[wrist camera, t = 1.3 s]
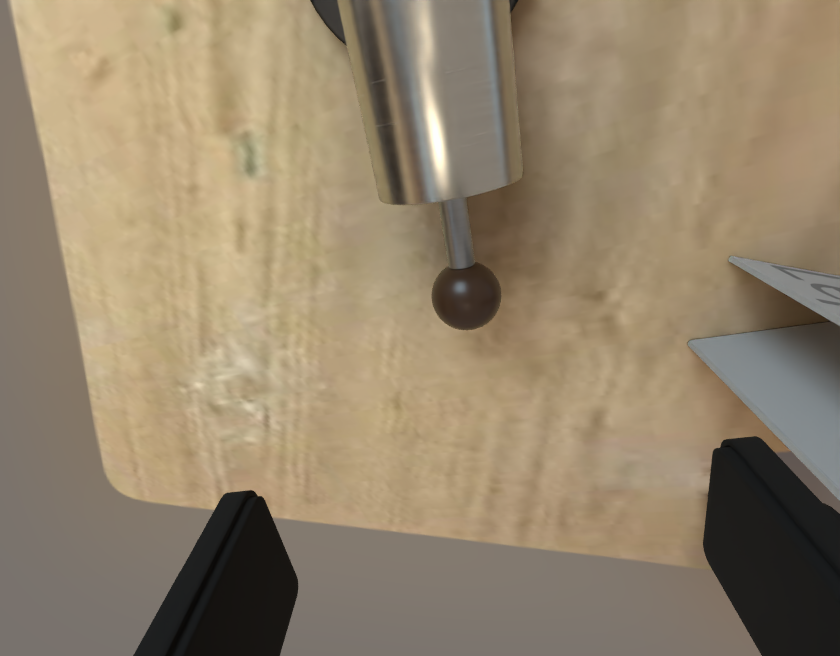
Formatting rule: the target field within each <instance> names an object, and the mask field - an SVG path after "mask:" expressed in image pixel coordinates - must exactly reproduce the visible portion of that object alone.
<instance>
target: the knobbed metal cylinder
mask: <svg viewBox="0 0 840 656" xmlns="http://www.w3.org/2000/svg"><path fill="white" fill-rule="evenodd" d="M337 2H338V7H339V11H340V16H341V21H342V26H343V30H344V35H345V40H346V44H347V49H348V54H349V59H350V63H351V68H352V73H353V77H354V82H355V87H356V91H357V96H358V101H359V106H360V110H361V115H362V120H363V124H364V129H365V134H366V139H367V143H368V148H369V153H370V157H371V162H372V167H373V171H374V176H375V181H376V186H377V190H378V195H379V199H380V201H381V202H383V203H386V204H391V205H417V204H428V203H436V202H438V205H439V211H440V217H441V224H442V230H443V236H444V242H445V248H446V255H447V261H448V267H446V268H445V269H444V270H442V271H441V273H440V274H439V275H438V277H437V278H436V280H435V282H434V285H433V288H432V303H433V307H434V309H435V311H436V313H437V315H438V316H439V318H440V319H441V320H442V321H443V322H444V323H446V324H447V325H449V326H451V327H453V328H455V329H459V330H473V329H477V328H480V327H482V326H484V325H485V324H487V323H488V322H489V321H490V320H491V319H492V318H493V317H494V316H495V314H496V313H497V311H498V309H499V306H500V302H501V288H500V284H499V282H498V280H497V278H496V276H495V275H494V273H493V272H492V271H491V270H490V269H488V268H487V267H486V266H484V265H482V264H480V263H478V262H475V259H474V251H473V244H472V237H471V229H470V222H469V214H468V207H467V199H466V197H470V196H474V195H479V194H483V193H486V192H490V191H493V190H496V189H499V188H502V187H505V186H507V185H510V184H512V183H514V182H516V181H518V180H519V179H520V178H521V177H522V176H523V164H522V152H521V139H520V127H519V115H518V102H517V90H516V78H515V65H514V53H513V41H512V29H511V16H510V4H509V0H337Z"/></svg>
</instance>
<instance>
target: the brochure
mask: <svg viewBox="0 0 840 656" xmlns="http://www.w3.org/2000/svg"><path fill="white" fill-rule="evenodd" d="M728 261H729V262H731V263H733V264H734V265H736V266H738V267H740V268H741V269H743V270H745V271H746V272H748V273H750V274H752V275H753V276H755V277H757V278H758V279H760V280H762V281H764V282H765V283H767V284H769V285H770V286H772V287H774V288H775V289H777V290H779V291H781V292H782V293H784V294H786V295H787V296H789V297H791V298H793V299H794V300H796V301H798V302H799V303H801V304H803V305H804V306H806V307H808V308H810V309H811V310H813V311H815V312H816V313H818V314H820V315H822V316H823V317H825V318H827V319H828V320H830V321H831V322H824V323H816V324H809V325H801V326H794V327H786V328H779V329H771V330H764V331H756V332H749V333H741V334H734V335H726V336H719V337H711V338H704V339H696V340H690V341H689V342H688V346H689V347H690V348H691V349H692V350H693V351H694V352H695V353H696V354H697V355H698V356H699V357H700V358H701V359H702V360H703V361H704V362H705V363H706V364H707V365H708V366H709V367H710V368H711V370H712V371H713V372H714V373H715V374H716V375H717V376H718V377H719V378H720V379H721V380H722V381H723V382H724V383H725V384H726V385H727V386H728V387H729V388H730V389H731V390H732V391H733V392H734V393H735V394H736V395H737V396H738V397H739V398H740V399H741V400H742V401H743V402H744V403H745V404H746V405H747V406H748V407H749V408H750V409H751V411H752V412H753V413H754V414H755V415H756V416H757V417H758V418H759V419H760V420H761V421H762V422H763V423H764V424H765V425H766V426H767V427H768V428H769V429H770V430H771V431H772V432H773V433H774V434H775V435H776V436H777V437H778V438H779V439H780V440H781V441H782V442H783V443H784V444H785V445H786V446H787V447H788V448H789V449H790V450H791V452H792V453H793V454H794V455H795V456H797V458H798V459H799V460H800V461H801V462H802V463H803V464H804V465H805V466H806V467H807V468H808V469H809V470H810V471H811V472H812V473H813V474H814V475H815V476H816V477H817V478H818V479H819V480H820V481H821V482H822V483H823V484H824V485H825V486H826V487H827V488H828V489H829V490H830V491H831V493H833V495H834V496H835V497H836V498H837V499H838V500H839V501H840V276H837V275H832V274H826V273H821V272H816V271H810V270H805V269H799V268H794V267H789V266H783V265H778V264H772V263H767V262H762V261H756V260H751V259H745V258H740V257H735V256H730V258H729V260H728Z"/></svg>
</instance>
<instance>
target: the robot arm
mask: <svg viewBox="0 0 840 656" xmlns="http://www.w3.org/2000/svg"><path fill="white" fill-rule="evenodd" d="M703 547H704V552H705V556H706V558H707V561H708V563H709V565H710V566H711V568H712V570H713V571H714V573H715V575H716V577H717V578H718V580H719V582H720V583H721V585H722V587H723V589H724V591H725V592H726V594H727V596H728V598H729V599H730V601H731V602H732V605H733V606H734V608H735V610H736V611H737V613H738V615H739V617H740V618H741V620H742V622H743V624H744V625H745V627H746V629H747V631H748V632H749V634H750V636H751V637H752V639H753V641H754V643H755V645H756V646H757V648H758V650H759V651H760V653H761V655H762V656H840V514H839V513H838V512H837V511H836V510H834V509H833V508H832V507H830V506H828V505H826V504H824V503H822V502H821V501H820V500H819V499H818V498H817V497H816V496H815V495H814V494H813V493H812V492H811V491H810V490H809V489H808V488H807V486H806V485H805V484H804V483H803V482H802V481H801V480H800V479H799V478H798V477H797V476H796V475H795V474H794V473H793V472H792V471H791V470H790V468H789V467H788V466H787V465H786V464H785V463H784V462H783V461H782V460H781V459H780V458H779V457H778V456H777V455H776V454H775V452H774V451H773V450H772V449H771V448H770V447H769V446H768V445H767V444H766V443H765V442H764V441H763V440H762V439H761V438H759V437H756V436H754V437H745V438H736V439H727V440H723V442H722V443H721V447H720V448H716V449H714V451H713V455H712V464H711V474H710V483H709V492H708V502H707V511H706V520H705V530H704V539H703ZM297 593H298V579H297V576H296V573H295V571H294V569H293V566H292V564H291V562H290V559H289V557H288V554H287V552H286V550H285V547H284V545H283V542H282V540H281V538H280V535H279V533H278V531H277V529H276V526H275V523H274V521H273V519H272V516H271V514H270V512H269V509H268V507H267V504H266V502H265V500H264V498H263V497H262V496H257V494H256V493H255V492H254V491H252V490H249V491H240V492H231V493H226V494H224V495H223V497H222V498H221V500H220V501H219V503H218V505H217V507H216V509H215V510H214V512H213V514H212V516H211V518H210V519H209V521H208V523H207V525H206V527H205V528H204V530H203V532H202V534H201V536H200V537H199V539H198V541H197V543H196V545H195V547H194V548H193V550H192V552H191V554H190V556H189V557H188V559H187V561H186V563H185V564H184V566H183V568H182V570H181V571H180V573H179V574H178V577H177V578H176V580H175V582H174V583H173V585H172V587H171V589H170V591H169V592H168V594H167V596H166V598H165V600H164V601H163V603H162V605H161V607H160V609H159V611H158V612H157V614H156V616H155V618H154V619H153V621H152V623H151V625H150V627H149V629H148V630H147V632H146V634H145V636H144V638H143V639H142V641H141V643H140V645H139V646H138V648H137V650H136V652H135V654H134V655H133V656H280V653H281V649H282V646H283V642H284V639H285V635H286V631H287V629H288V625H289V622H290V618H291V615H292V611H293V608H294V605H295V601H296V598H297Z"/></svg>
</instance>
